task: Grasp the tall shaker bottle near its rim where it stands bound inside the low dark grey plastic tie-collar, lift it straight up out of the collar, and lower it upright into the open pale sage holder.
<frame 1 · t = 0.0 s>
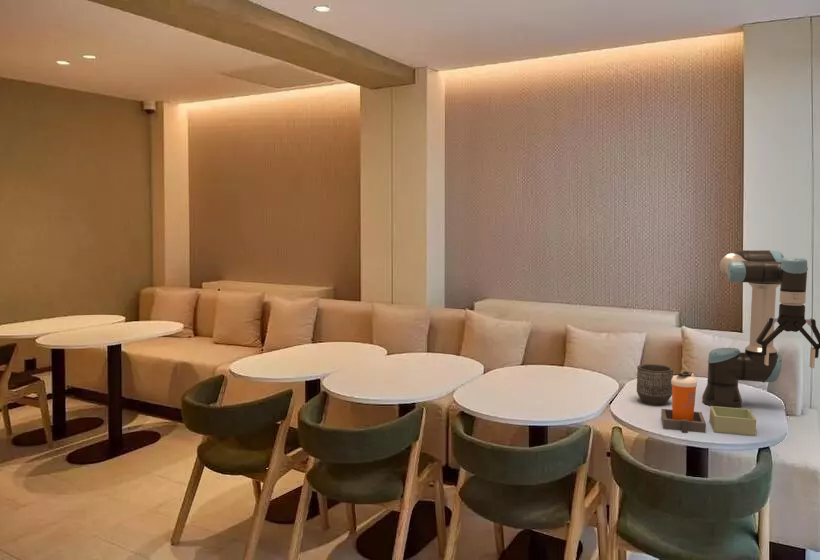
hand: (788, 366, 218), 28 cm above the table, fingers open, 13 cm apart
planter: (653, 402, 274), on the table
shaker bottle: (682, 425, 244), resting in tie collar
sage holder: (731, 428, 240), on the table
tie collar: (682, 424, 244), on the table
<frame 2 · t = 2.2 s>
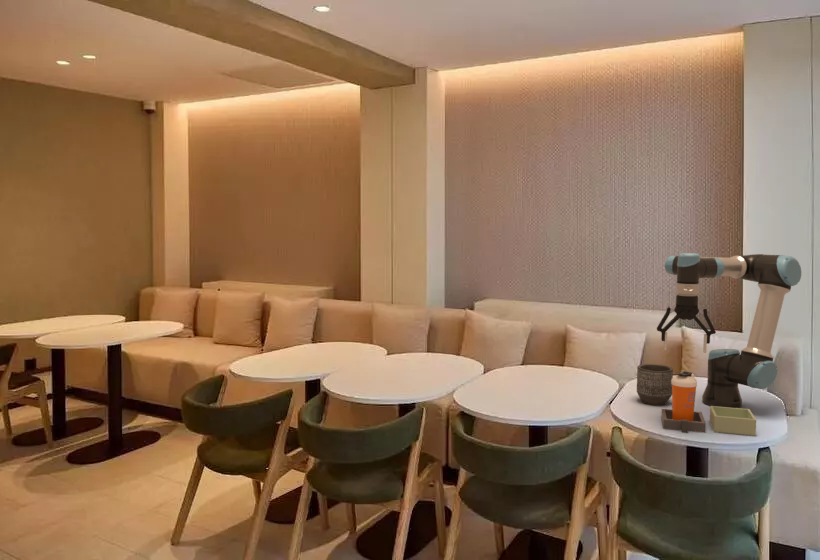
hand: (684, 351, 241), 28 cm above the table, fingers open, 13 cm apart
nothing on the table moved.
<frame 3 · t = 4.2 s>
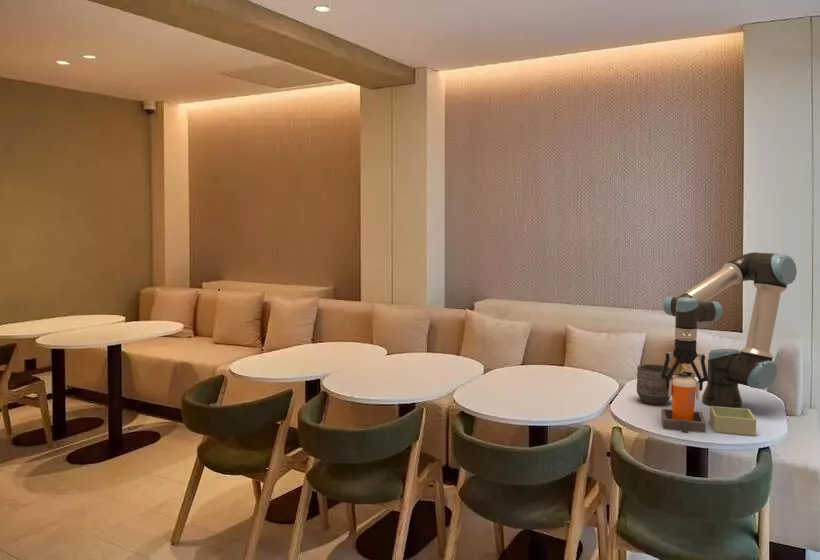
hand: (683, 397, 243), 10 cm above the table, fingers closed on shaker bottle, 9 cm apart
shaker bottle: (682, 425, 244), resting in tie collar, touching gripper
everything else where it was.
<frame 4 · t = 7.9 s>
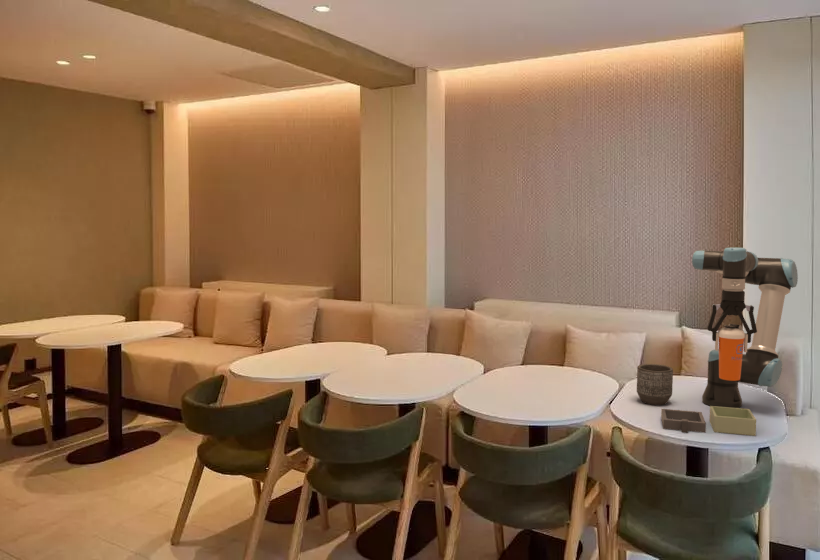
hand: (730, 350, 237), 29 cm above the table, fingers closed on shaker bottle, 9 cm apart
shaker bottle: (729, 378, 238), point 19 cm above the table, touching gripper
everything else where it was.
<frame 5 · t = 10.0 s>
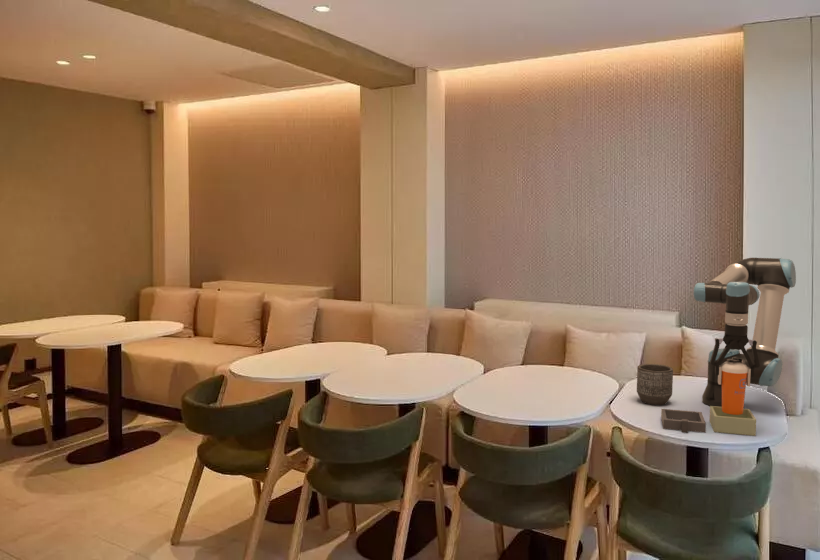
hand: (733, 384, 238), 17 cm above the table, fingers closed on shaker bottle, 9 cm apart
shaker bottle: (732, 412, 239), point 6 cm above the table, touching gripper
everything else where it was.
when the fingers open (11 cm above the table, at t = 11.7 s): shaker bottle stays where it is, resting on sage holder.
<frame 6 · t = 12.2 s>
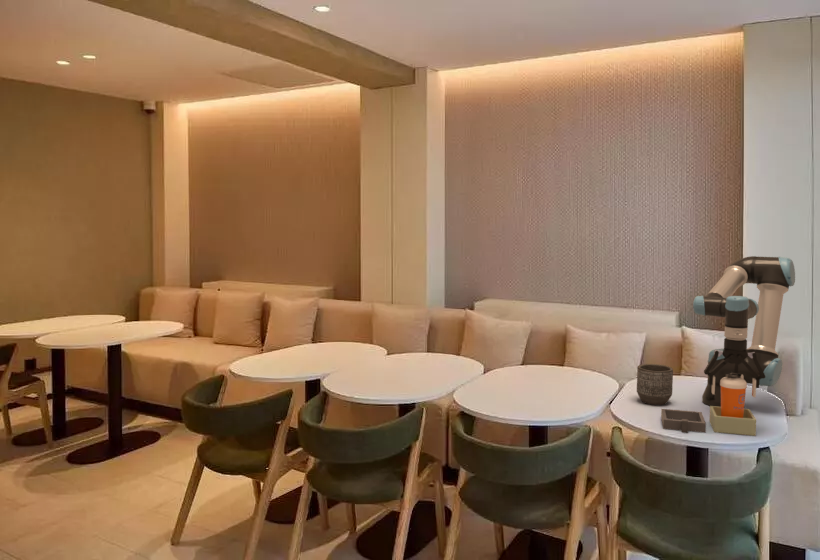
hand: (733, 395, 238), 13 cm above the table, fingers open, 13 cm apart
shaker bottle: (731, 427, 240), resting on sage holder
everything else where it was.
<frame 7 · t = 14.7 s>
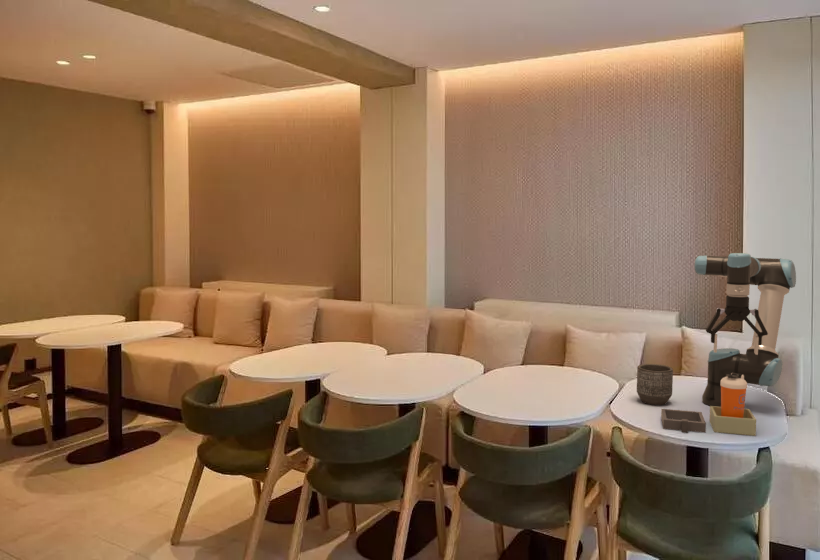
hand: (735, 352, 237), 29 cm above the table, fingers open, 13 cm apart
nothing on the table moved.
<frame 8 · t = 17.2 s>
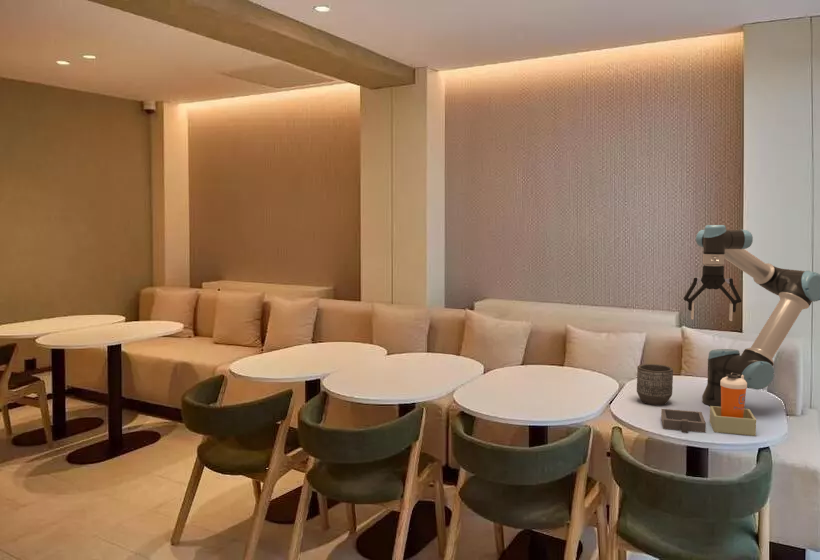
hand: (711, 319, 249), 39 cm above the table, fingers open, 13 cm apart
nothing on the table moved.
at the end: shaker bottle 0.0 cm from the sage holder (horizontally); shaker bottle tilted 0°; shaker bottle resting on sage holder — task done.
